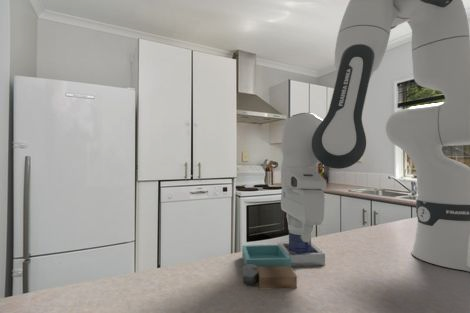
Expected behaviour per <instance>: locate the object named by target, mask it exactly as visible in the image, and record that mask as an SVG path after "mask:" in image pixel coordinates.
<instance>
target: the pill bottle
mask: <svg viewBox="0 0 470 313" xmlns="http://www.w3.org/2000/svg"><path fill="white" fill-rule="evenodd" d="M291 223H292V225H293V226H292V227H290V228H289V229H288V243H289V253H311V243H312V239H311V240H310V242H304V241H302V240H301V232H302V229H303V226H302V222H301V221H300V220H298V219H296V218H292V222H291Z"/></svg>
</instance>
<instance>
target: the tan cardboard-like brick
mask: <svg viewBox="0 0 470 313" xmlns="http://www.w3.org/2000/svg"><path fill="white" fill-rule="evenodd" d="M297 283H298V281H297V275H296V273H295V272H294V269H292V266H291V267H290V266H260V267H258V284H257V285H258V288H259V289H260V290H263V289H264V290H266V289H269V290H270V289H273V290H274V289H275V290H276V289H297V285H298V284H297Z"/></svg>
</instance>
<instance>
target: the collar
mask: <svg viewBox="0 0 470 313" xmlns="http://www.w3.org/2000/svg"><path fill="white" fill-rule="evenodd" d="M277 245H281V247H282V248H283V249H284V251H285V252H286V253H287V254H288V256H289V257H290V258H291V267H297V266H299V267H300V266H302V267H303V266H326V254H325V253H324V252H323V250H321V249H320V248H318V247H317V246H316V245H315V244H313V242H311V253H289V242H277Z"/></svg>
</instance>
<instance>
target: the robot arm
mask: <svg viewBox="0 0 470 313" xmlns="http://www.w3.org/2000/svg"><path fill="white" fill-rule="evenodd" d="M406 22H407V24H408V25H409V27H410V29H411V56H412V58H411V59H412V72H413V73H412V74H413V75H412V76H413V80H414V82H415V83H416V84H417V85H418V86H420V87H423V88H425V89H427V90H428V89H429V90H434V91H437V92H441V94H443V96H444V99H445V101H442V102H436V103H429V104H421V105H416V106H410V107H407V108H403V109H400V110H397V111H394V112H393V113H391V114H390V116H388V117H389V118H388V119H387V121H386V123H385V124H386V125H385V132H386V136H387V137H388V138H387V139H389V141H390V142H391V143H392V144H393V145H395V146H396V147H398V148H400V149H401V150H402V151H403V152H404V153H405V154H406V155H407V156H408V157H409V159H410V160H411V163H412V164H413V166H414V169H415V176H416V183H417V199H416V200H415V204H416V205H415V212H416V217H417V224H416V230H415V231H416V232H415V238H414V242H413V247H412V249H411V251H410V253H411V255H412V256H414V257H416V258H417V259H419V260H421V261H424V262H427V263H430V264H433V265H435V266H441V267H444V268H449V269H454V270H459V271H460V270H461V271H466V272H469V273H470V166H468V165H467V164H464V163H463V162H460V161H457V160H455V159H452V158H450V157H447V156H446V155H445V154H444V152H443V147H448V146H451V147H452V146H453V147H454V146H470V26H469V20H468V16H467V12H466V8H465V5H464V2H463V0H349V1H348V4H347V6H346V9H345V11H344V14H343V16H342V19H341V23H340V25H339V29H338V32H337V36H336V43H335V49H334V66H335V69H336V79H335V83H334V88H333V92H332V96H331V99H330V104H329V107H328V110H327V114H326V115H325V117H324V118H323V119H322V118H321V117H319V116H318V115H316V114H315V113H312V112H300V113H297V114H293V115H291V116H289V117H288V118H287V119H285V121H284V123H283V128H282V134H281V135H282V136H281V153H282V162H281V166H280V186H281V191H280V192H281V194H280V195H281V196H280V208H281V210H282V211H283V212H284V213H286V216H285V217H286V220H287V229H288V230H289V228H290V227H292V226H293V225H292V223H291V222H292V218H296V219H298V220H300V221H301V222H302V226H303V229H302V232H301V240H302V241H304V242H310V240H311V241H312V233H313V229H314V226H321V225H322V223H323V221H324V217H325V204H326V203H325V192H324V190H325V189H327V180H326V179H325V178H324V177H323V176H322V175H321V174H320V172H319V164H322V165H323V166H325V167H328V168H330V169H339V170H341V169H346V168H349V167H351V166H353V165H355V164H356V163H357V162H359V161H360V160H361V158H362V157H363V156H364V154H365V151H366V149H367V148H366V147H367V137H366V132H365V129H364V125H363V110H364V106H365V102H366V98H367V93H368V88H369V84H370V80H371V78H372V75H373V74H374V72H375V71H377V70H378V69H379V67H380V66H381V63H382V61H383V58H384V56H385V53H386V50H387V47H388V44H389V40H390V36H391V31H392V30H393V29H394V28H396V27H397V26H399V25H402V24H403V23H406Z"/></svg>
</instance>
